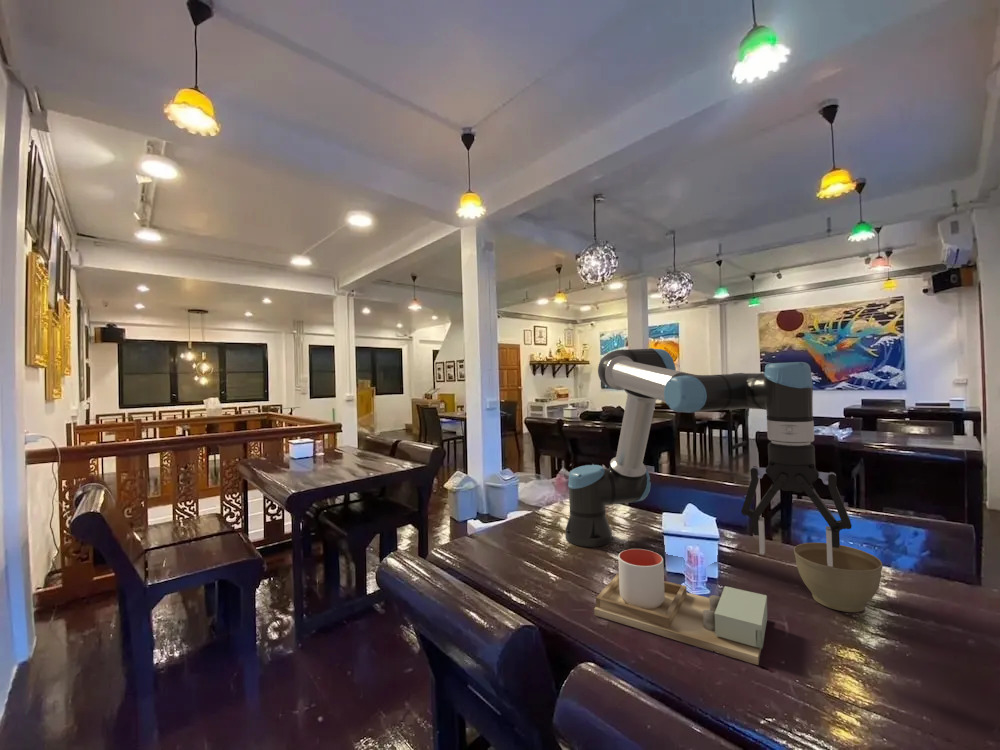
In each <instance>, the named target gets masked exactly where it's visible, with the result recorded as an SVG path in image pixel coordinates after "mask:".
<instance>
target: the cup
mask: <svg viewBox="0 0 1000 750" xmlns="http://www.w3.org/2000/svg"><path fill="white" fill-rule="evenodd" d="M617 559H618V560H617V561H618V573H619V589H620V596H621V598H622V599H623V600H624V602H626V603H627V604H629V605H632V606H635V607H639V608H643V609H653V608H657V607H659V606H660V605H661V604H662V603H663V602H664V599H665V590H664V581H665V567H664V558H663V556H662V555H661V554H660V553H657V552H656V551H655V552H654V551H652V550H648V549H643V548H629V549H625V550H622V551H621V552H619V554H618V555H617Z"/></svg>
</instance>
